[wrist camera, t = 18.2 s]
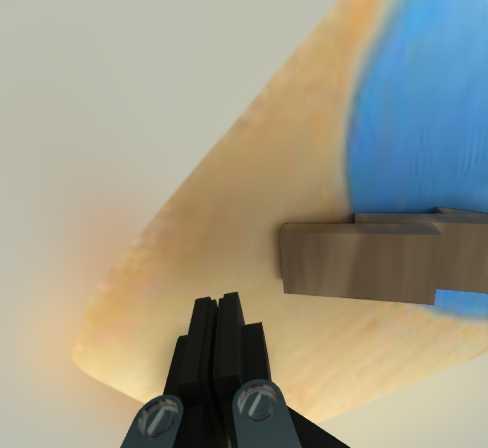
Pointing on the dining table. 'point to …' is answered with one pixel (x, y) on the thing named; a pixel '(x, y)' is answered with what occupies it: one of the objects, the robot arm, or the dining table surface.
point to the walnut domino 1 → (362, 261)
